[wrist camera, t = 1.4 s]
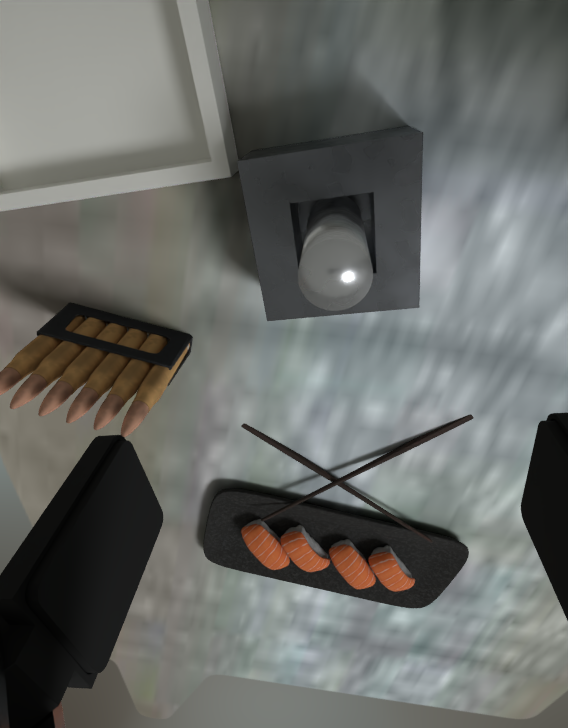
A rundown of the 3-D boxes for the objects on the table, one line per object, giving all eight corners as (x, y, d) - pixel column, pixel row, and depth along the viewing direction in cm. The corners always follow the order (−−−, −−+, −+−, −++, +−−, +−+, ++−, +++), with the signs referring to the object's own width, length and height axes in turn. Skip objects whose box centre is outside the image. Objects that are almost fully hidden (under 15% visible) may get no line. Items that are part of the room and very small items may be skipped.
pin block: (408, 125, 26) (422, 132, 22) (408, 278, 31) (419, 307, 27) (251, 150, 28) (237, 161, 24) (275, 291, 33) (267, 321, 29)
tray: (159, -263, 19) (132, -316, 17) (240, 169, 28) (231, 176, 26) (-164, -153, 22) (-228, -185, 20) (6, 204, 31) (-23, 214, 29)
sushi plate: (203, 547, 54) (194, 576, 50) (241, 353, 37) (232, 378, 34) (423, 598, 55) (428, 629, 51) (554, 430, 38) (574, 461, 35)
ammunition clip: (193, 335, 36) (138, 429, 26) (190, 353, 37) (136, 450, 27) (69, 302, 36) (-36, 385, 26) (69, 321, 37) (-31, 408, 27)
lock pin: (360, 190, 28) (371, 235, 19) (362, 245, 29) (374, 307, 21) (305, 198, 28) (292, 244, 20) (311, 251, 30) (302, 313, 22)
